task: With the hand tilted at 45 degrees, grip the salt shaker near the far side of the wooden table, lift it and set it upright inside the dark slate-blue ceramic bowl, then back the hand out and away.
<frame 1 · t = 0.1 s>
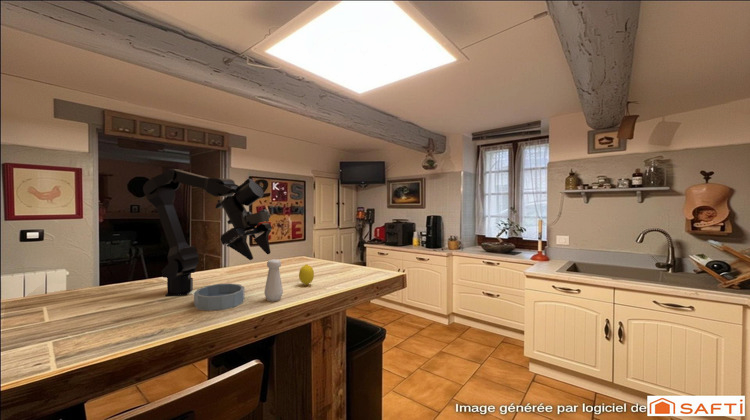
hand: (260, 256, 99), 15 cm above the table, tool tilted 35°, fingers open, 9 cm apart
bowl: (220, 302, 99), on the table
salt shaker: (273, 300, 103), on the table
lemon: (306, 285, 119), on the table
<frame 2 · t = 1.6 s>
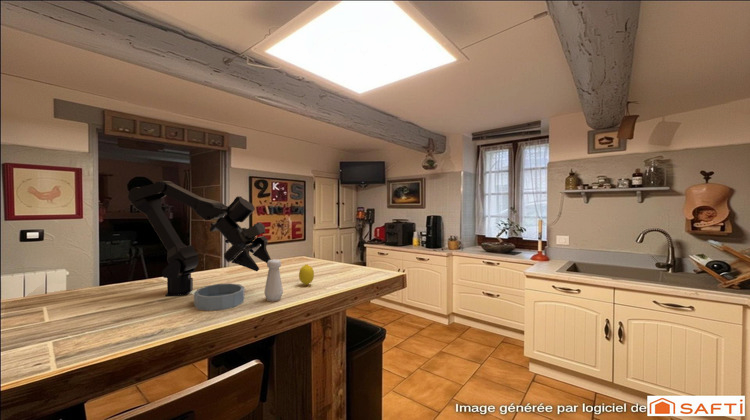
hand: (265, 266, 103), 11 cm above the table, tool tilted 45°, fingers open, 9 cm apart
nothing on the table moved.
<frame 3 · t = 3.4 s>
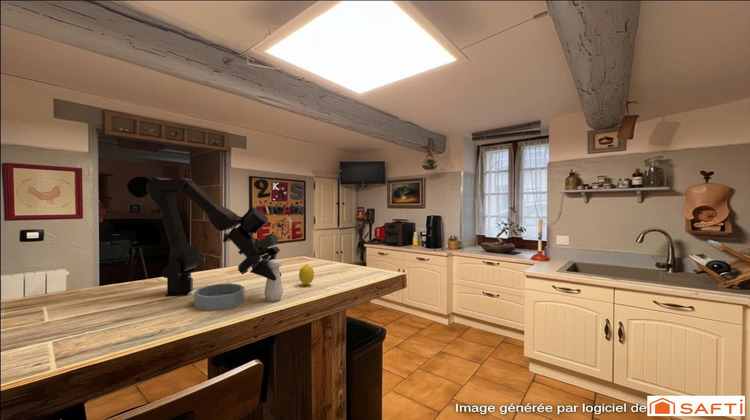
hand: (278, 278, 102), 7 cm above the table, tool tilted 45°, fingers closed on salt shaker, 3 cm apart
salt shaker: (273, 299, 103), on the table, touching gripper
everything else where it was.
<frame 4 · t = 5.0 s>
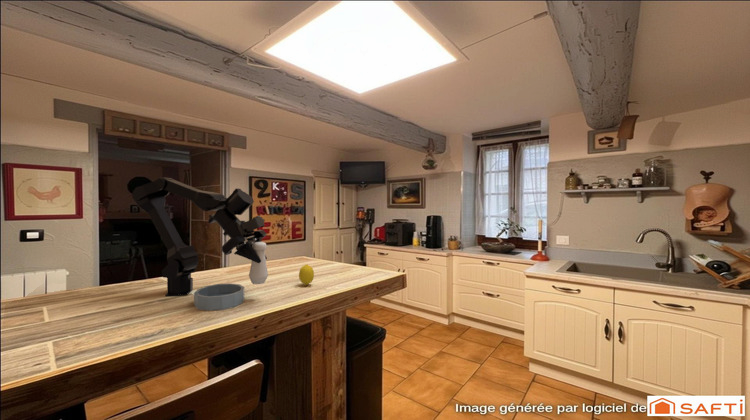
hand: (263, 261, 101), 13 cm above the table, tool tilted 45°, fingers closed on salt shaker, 3 cm apart
salt shaker: (258, 283, 102), point 6 cm above the table, touching gripper
everything else where it was.
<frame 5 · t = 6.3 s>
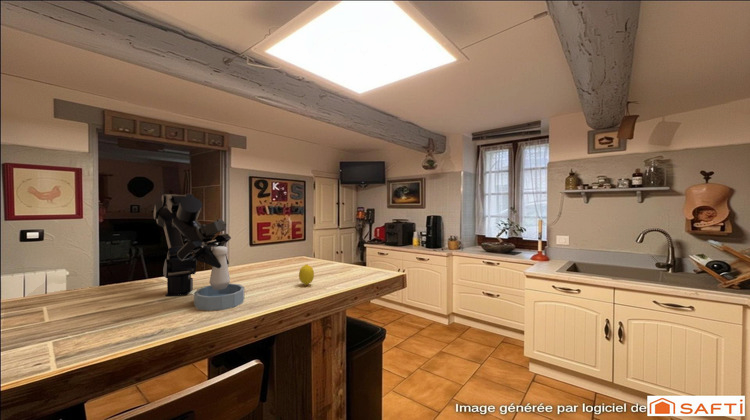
hand: (224, 265, 98), 12 cm above the table, tool tilted 45°, fingers closed on salt shaker, 3 cm apart
salt shaker: (219, 288, 99), point 4 cm above the table, touching gripper
everything else where it was.
when the fingers open (9 cm above the table, at t = 7.0 s): salt shaker drops 1 cm, resting on bowl.
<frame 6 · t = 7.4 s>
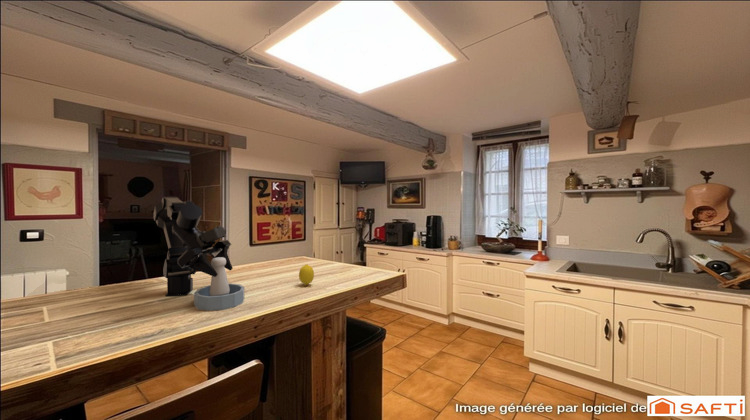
hand: (224, 272, 98), 10 cm above the table, tool tilted 45°, fingers open, 8 cm apart
salt shaker: (219, 299, 99), point 1 cm above the table, touching bowl
everything else where it was.
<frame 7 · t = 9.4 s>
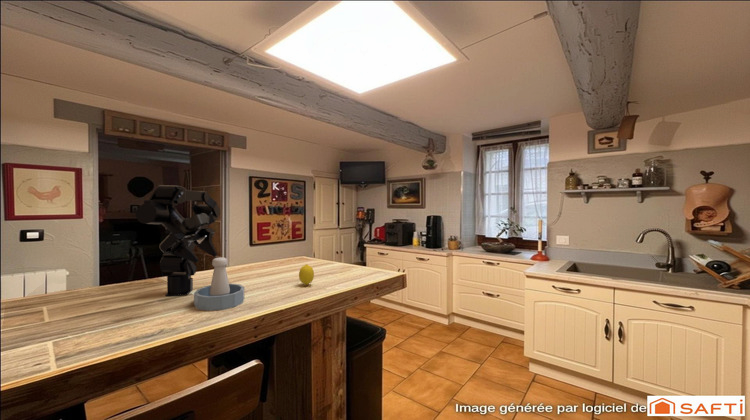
hand: (207, 258, 99), 14 cm above the table, tool tilted 45°, fingers open, 9 cm apart
nothing on the table moved.
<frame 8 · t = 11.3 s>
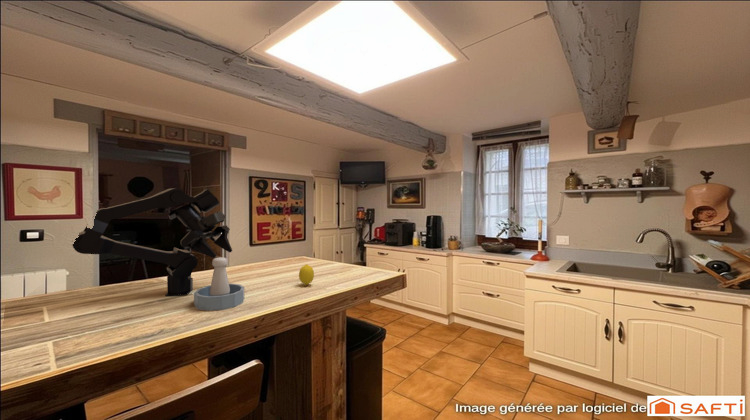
hand: (223, 254, 106), 14 cm above the table, tool tilted 45°, fingers open, 9 cm apart
nothing on the table moved.
at the end: salt shaker inside the target area on the bowl (0.2 cm from its centre), point 0.8 cm above the bowl's base; salt shaker tilted 0°; the gripper is holding nothing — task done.
